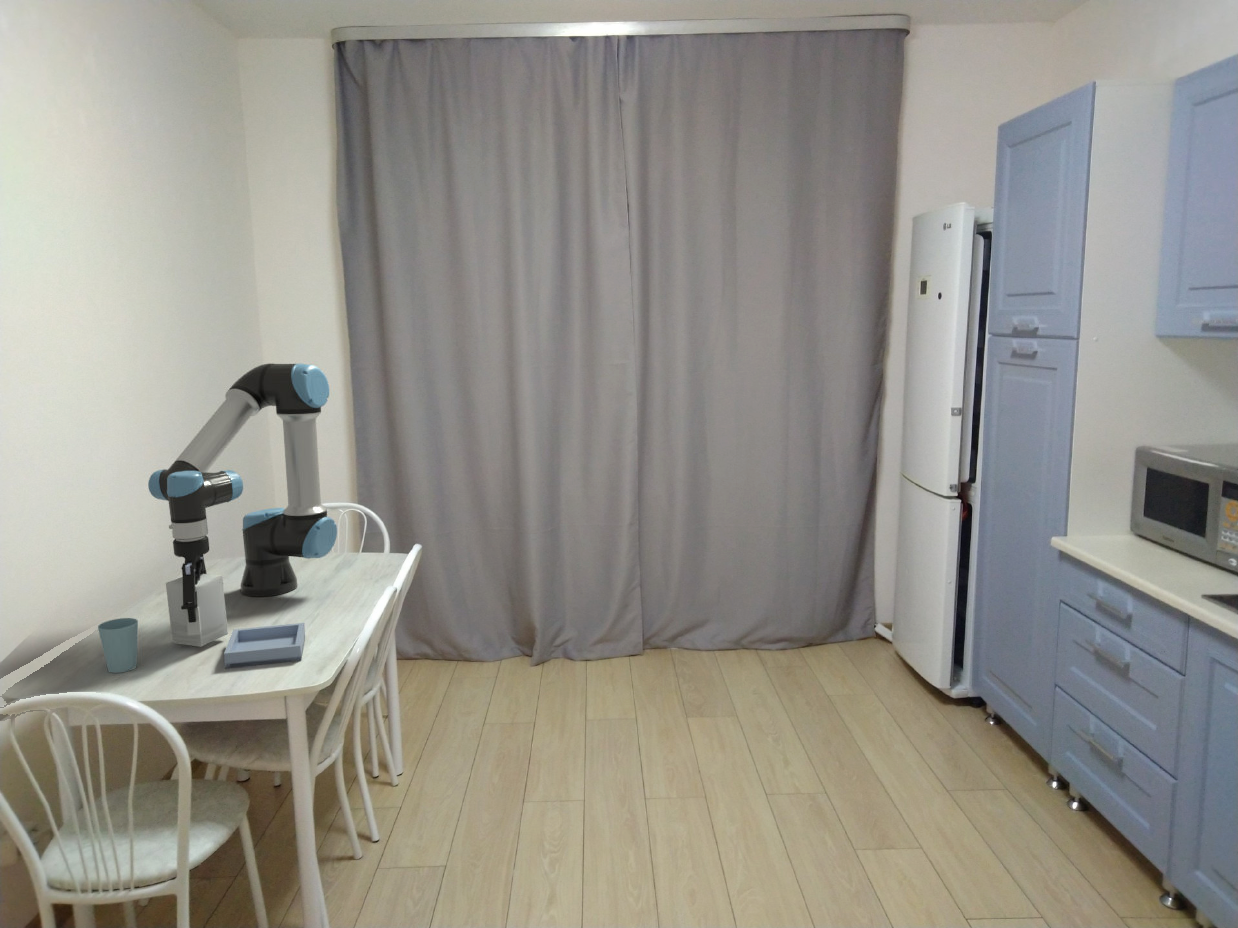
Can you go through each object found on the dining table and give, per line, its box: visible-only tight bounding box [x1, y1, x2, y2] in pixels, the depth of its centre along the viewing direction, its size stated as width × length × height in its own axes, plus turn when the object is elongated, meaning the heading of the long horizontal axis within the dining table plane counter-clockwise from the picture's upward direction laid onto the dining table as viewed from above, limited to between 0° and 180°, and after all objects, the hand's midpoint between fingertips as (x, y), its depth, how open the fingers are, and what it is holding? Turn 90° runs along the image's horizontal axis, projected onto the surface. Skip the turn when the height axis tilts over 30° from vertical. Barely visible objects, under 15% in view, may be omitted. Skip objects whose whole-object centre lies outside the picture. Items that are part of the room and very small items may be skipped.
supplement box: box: [165, 573, 229, 648], centre depth 208 cm, size 9×9×15 cm
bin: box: [223, 622, 306, 670], centre depth 204 cm, size 16×16×4 cm
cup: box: [97, 617, 139, 674], centre depth 194 cm, size 8×8×10 cm
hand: (199, 624), depth 209 cm, fingers closed on supplement box, 12 cm apart
